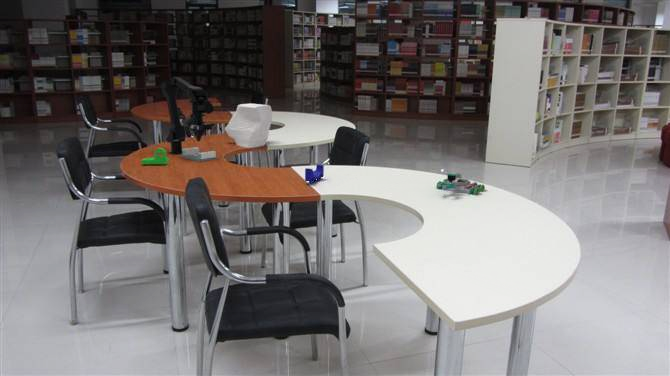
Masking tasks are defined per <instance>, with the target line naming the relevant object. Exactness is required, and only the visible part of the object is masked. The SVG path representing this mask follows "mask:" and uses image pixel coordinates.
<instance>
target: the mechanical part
mask: <svg viewBox="0 0 670 376" xmlns="http://www.w3.org/2000/svg"><path fill="white" fill-rule="evenodd" d="M159 153H161V154H162V156H160V155H159ZM169 160H170V158H169V157H168V156H167V151H166V150H165V149H164V148H163V147H158V148H157V149H155V150H154V156H153V157H145V158H142V159H141V165H167V163H169V162H170V161H169Z"/></svg>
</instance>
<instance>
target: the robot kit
mask: <svg viewBox="0 0 670 376" xmlns="http://www.w3.org/2000/svg"><path fill="white" fill-rule="evenodd" d="M446 176H447V177H446V178H444V179H443V181H442V180H441V181H439V180H438V182H437V183H436V189H437V190H443V191H449V192H454V193H461V194H467V195H470V194H471V195H472V196H477V195H478V194H480V192H481V193H482V192H484V191H485V190H486V186H485V185H484V184H481V183H480V184H478V182H476V181H474V182H471V180H469V179H467V178H466V179H465V178H462V177H463V176H462V174H460V172H456V173H447V174H446Z"/></svg>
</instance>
